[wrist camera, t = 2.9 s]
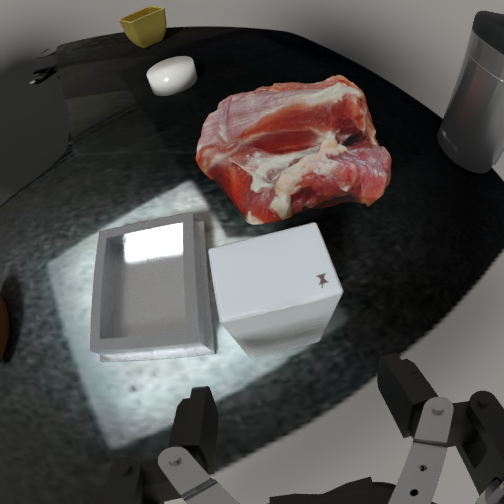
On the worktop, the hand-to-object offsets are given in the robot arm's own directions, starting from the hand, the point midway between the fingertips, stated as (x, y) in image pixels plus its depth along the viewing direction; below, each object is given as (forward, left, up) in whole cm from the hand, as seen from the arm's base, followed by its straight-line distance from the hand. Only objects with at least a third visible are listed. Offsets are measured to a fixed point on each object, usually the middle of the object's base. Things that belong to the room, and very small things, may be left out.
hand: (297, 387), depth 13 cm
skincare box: (0, -6, -11) cm, 12 cm away
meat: (-5, -24, -11) cm, 27 cm away
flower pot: (+18, -74, -11) cm, 77 cm away
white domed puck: (+10, -48, -11) cm, 50 cm away
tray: (+11, -11, -11) cm, 19 cm away
